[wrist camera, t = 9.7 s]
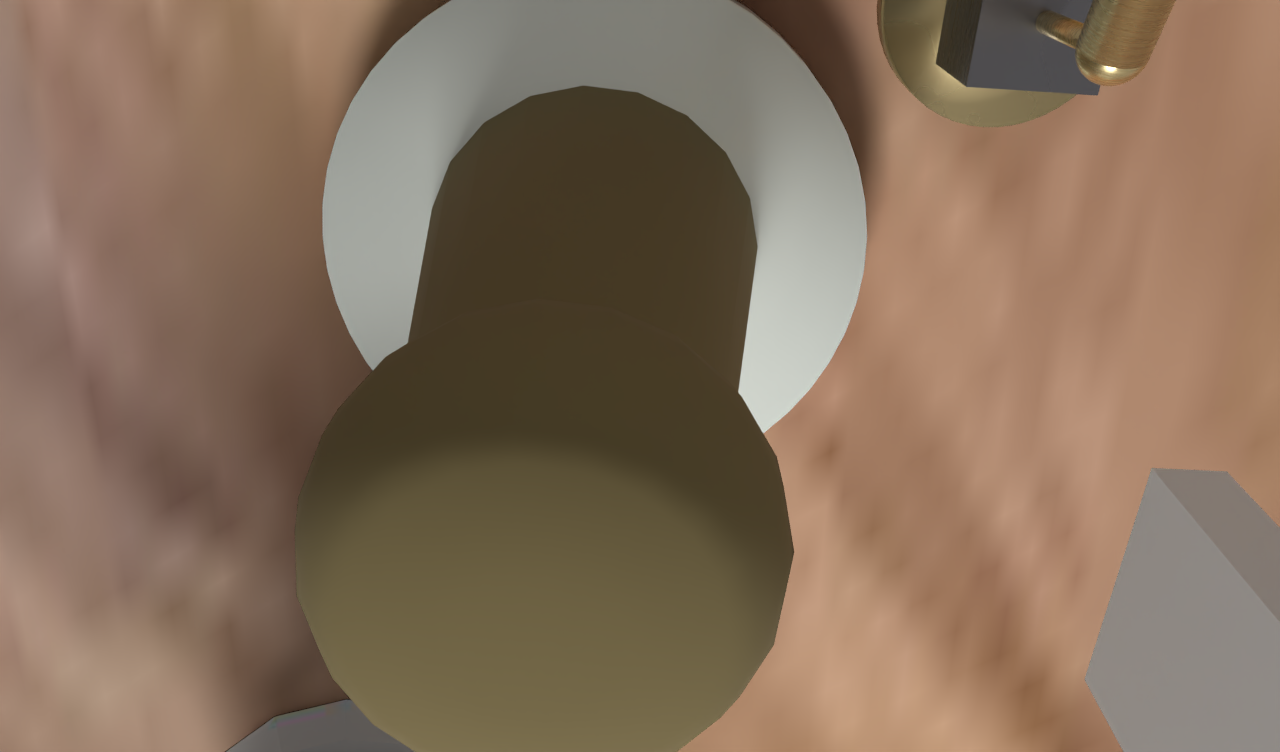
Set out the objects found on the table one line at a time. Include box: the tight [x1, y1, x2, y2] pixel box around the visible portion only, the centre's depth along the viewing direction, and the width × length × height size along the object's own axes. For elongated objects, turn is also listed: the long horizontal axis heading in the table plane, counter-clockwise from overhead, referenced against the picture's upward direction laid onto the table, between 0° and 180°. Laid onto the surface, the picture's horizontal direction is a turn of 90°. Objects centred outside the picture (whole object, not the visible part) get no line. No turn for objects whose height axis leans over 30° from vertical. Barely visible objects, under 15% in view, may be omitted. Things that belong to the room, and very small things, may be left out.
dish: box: [323, 0, 867, 433], centre depth 20 cm, size 10×10×1 cm
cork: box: [295, 86, 794, 752], centre depth 15 cm, size 6×6×11 cm
